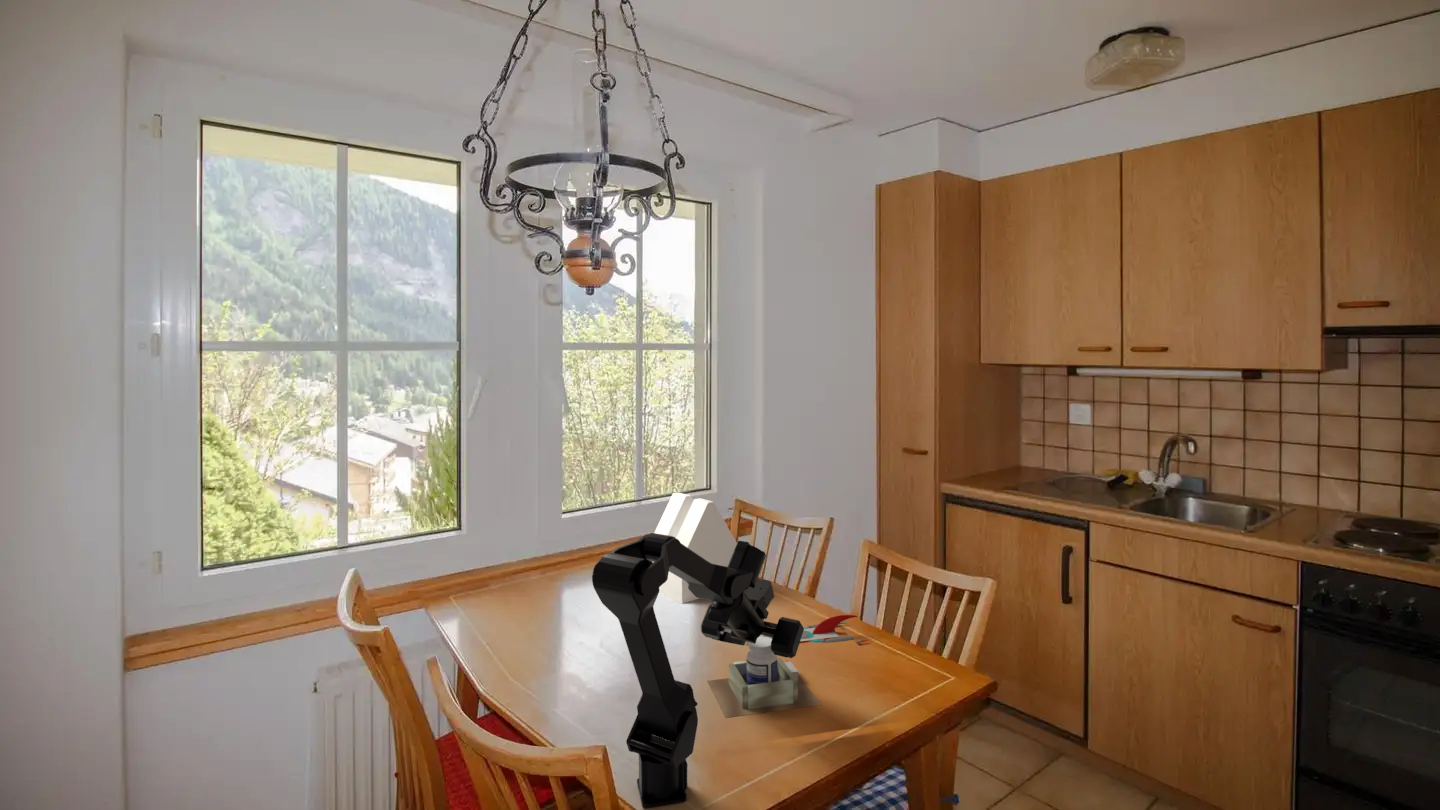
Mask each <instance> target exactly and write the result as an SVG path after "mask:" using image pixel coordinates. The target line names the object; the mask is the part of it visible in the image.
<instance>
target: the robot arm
mask: <svg viewBox="0 0 1440 810" xmlns="http://www.w3.org/2000/svg"><path fill="white" fill-rule="evenodd" d="M766 558H767V554H766V552H765V551H762V550H761V549H759V548H758V547H757V546H754V545H751V544H750V543H749V541H744V540H738V541H737V545H736V547H735V549H734V552H733V554H732V557H731V559H730V562H729V564H728V567H725V566H720V565H716V564H712V563H710V562H708V561H707V560H705V559H704V558H702V557H701V556H699V555H698V554H696V553H695V552H693V551H692V550H690V549H689V548H687V547H686V546H684V545H683V544H681V543H680V541H679V540H678V539H676V538H675V537H673V536H668V535H662V534H656V533H654V532H651V533H647V534H645V535H643V536H642V537H640V538H639V539H638V540H636V541H633V542H629V543H628V544H624V545H621V546H619V547H616V548H614V549H613V550H611V552H608V553H605V554H604V555H602V556H601V558H600V559H599V560H598V561H597V562H596V564H595V565H594V567H593V568H592V569H593V570H592V574H591V581H592V587H593V589H594V591H595V593H596V595H597V596H598V598H599V601H600V602H601V603H602V605H603V606H604V607H605V608H607V610H609V612H611V614H613V615H614V617H616V619H618V623H619V625H620V628H621V630H622V633H623V636H624V641H625V643H626V647H627V649H628V652H629V655H630V659H631V662H632V665H633V668H634V672H635V674H636V677H637V680H638V683H639V686H640V690H641V693H642V694H641V696H640V699H639V701H638V703H637V705H636V710H637V715H636V717H635V720H634V722H633V724H632V726H631V729H630V732H629V734H628V736H627V739H626V743H625V744H626V745H627V749H628V751H629V752H631V753H636V754H638V778H637V779H636V784H637V789H638V794H639V798H640V799H639V800H640V803H641V807H642V808H647V809H648V808H651V807H659V806H665V805H669V804H676V803H683V802H686V801H687V793H686V790H687V789H688V762H687V758H689V756H691V755H692V754H694V753H693V752H694V747H695V743H696V741H695V740H696V735H697V730H698V725H699V719H698V711H697V706H698V702H697V701H696V699H695V695H694V690H693V687H692V685H691V684H689V683H686V682H682V681H680V680H676V679H675V677H674V674H673V671H672V667H671V663H670V660H669V657H668V653H667V649H666V646H665V643H664V640H663V637H662V634H661V629H660V626H659V624H658V621H657V617H656V614H655V609H654V606H655V602H656V601H657V598H658V596H659V594H660V593H659V587H660V586H661V585H662V584H663V583H665V582H666V581H667V579H668V573H669V572H671V573H673V574H675V575H676V576H678V577H680V578H681V579H683V580H685V581H686V582H687V583H688V589H689V590H690V591H691V592H692V593H693V594H694V595H695V596H696V597H697V598H699V599H702V600H706V601H710V602H711V603H710V604H709V605H708V607H707V608H706V611H705V614H704V617H703V618H702V622H701V623H700V631H701V634H702V635H703V636H704V637H705V638H710V639H712V640H715V641H718V642H719V641H720V642H722V643H728V644H735V645H738V646H745V645H746V643H747V642H750V643H754V644H755V643H756V640H757V638H758V637H759V636H760V635H764V636H769V637H773V638H772V641H771V650H772V652H774V655H777V656H778V657H781V658H782V657H784V658H790V659H792V658H795V657H796V655H797V652H798V650H799V646H800V644H801V643H800V640H801V637H802V634H803V631H804V628H805V627H804V626H803V624H802V623H801V621H800V619H794V618H789V617H786V616H785V617H784V616H781V617H780V618H779V619H778V621H777V623H775V622H769V621H765V620H767V619H768V617H769V615H770V614H769V613H770V612H769V611H768V610H767V608H768V607H769V606H770V604H771V602H772V600H774V598H775V592H774V589H773V584H772V581H770V580H769V579H764V578H763V579H762V578H759V576H760V574H761V571H762V569H763V565H764V563H765V561H766ZM653 562H654V563H653Z"/></svg>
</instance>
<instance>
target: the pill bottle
mask: <svg viewBox="0 0 1440 810" xmlns="http://www.w3.org/2000/svg"><path fill="white" fill-rule="evenodd" d="M771 641H772V639H771V638H768V637H758V638H757V640H756V643H755V644H754V643H750V642H749V644H748V647H749V648H748V649H749V651H748V652H747V654H746V661H747V685H752V684H760V683H768V682H776V681H777V658H778V657H777V656H778V655H774V652H772V650H771Z"/></svg>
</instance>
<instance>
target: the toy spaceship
mask: <svg viewBox="0 0 1440 810" xmlns="http://www.w3.org/2000/svg"><path fill="white" fill-rule="evenodd" d="M853 618H858V616H857V615H855V614H840V615H835V616H831V617H829V618H827V619H824V620H822V621H821V622H820V623H817V624H812V625H807V626H806V627H803V628H804V631H803V634H802V637H801V640H800V643H799V644H801V643H820V644H828V643H829V644H830V643H837V642H838V643H841V642H847V641H854V642H855V644H860V643H864V642H868V641H869V639H866V640H865V639H864V640H855V638H854V636H852V635H846V636H845V635H844V636H840V635H839V634H838V633H836V628H839V626H840V625H845V624H846V625H847V622H844V621H846V620H849V619H853ZM759 637H768V638H771V639H772V638H773V637H769V636H764V635H760V636H759ZM746 644H748V645H749V642H746Z"/></svg>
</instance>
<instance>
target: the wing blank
mask: <svg viewBox="0 0 1440 810" xmlns="http://www.w3.org/2000/svg"><path fill="white" fill-rule="evenodd" d="M783 662H784V663H785V664H786V666H787V667H788V668H789V669H790V671H791V672H792V673H793V675H794V676H795V677H796V679H797V680H798V675H799V671H798V669H797V668H796V667H795V665H794V664H793V663H792V662H791V661H783Z"/></svg>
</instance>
